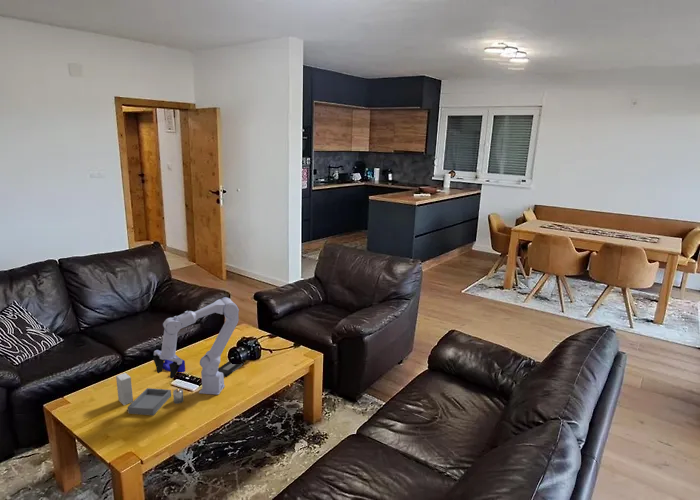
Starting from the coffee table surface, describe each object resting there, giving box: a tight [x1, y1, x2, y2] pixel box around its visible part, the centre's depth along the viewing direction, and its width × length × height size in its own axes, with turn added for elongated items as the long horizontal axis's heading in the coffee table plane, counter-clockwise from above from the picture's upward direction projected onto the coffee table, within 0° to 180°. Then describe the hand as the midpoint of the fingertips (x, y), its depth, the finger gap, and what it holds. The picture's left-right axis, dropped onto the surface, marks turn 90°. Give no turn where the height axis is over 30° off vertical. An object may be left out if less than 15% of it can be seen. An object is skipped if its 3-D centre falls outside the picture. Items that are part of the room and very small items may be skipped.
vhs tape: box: [218, 360, 245, 378], centre depth 227 cm, size 8×14×2 cm, turn 157°
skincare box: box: [115, 372, 134, 406], centre depth 196 cm, size 6×4×12 cm
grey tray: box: [127, 387, 172, 416], centre depth 195 cm, size 11×15×3 cm
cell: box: [172, 388, 185, 405], centre depth 198 cm, size 4×4×6 cm
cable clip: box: [162, 359, 186, 373], centre depth 225 cm, size 12×4×6 cm, turn 58°
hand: (165, 375), depth 195 cm, fingers open, 7 cm apart
